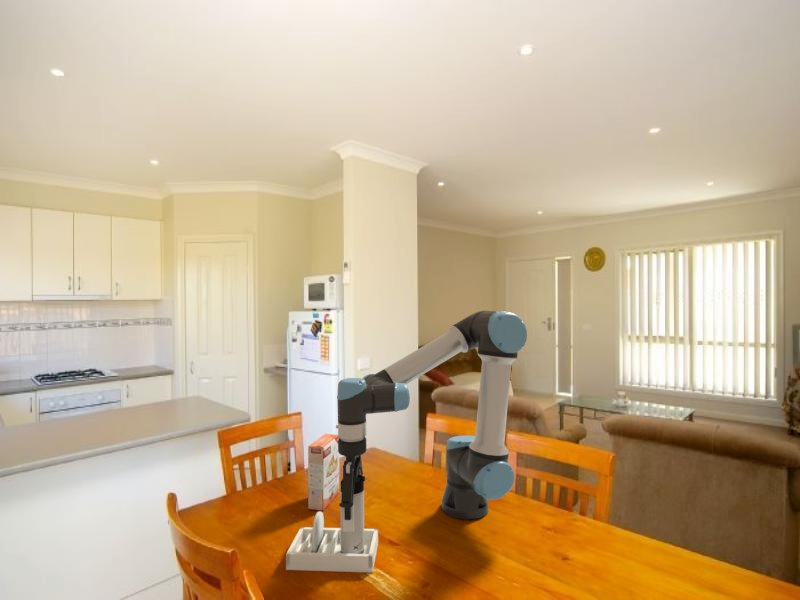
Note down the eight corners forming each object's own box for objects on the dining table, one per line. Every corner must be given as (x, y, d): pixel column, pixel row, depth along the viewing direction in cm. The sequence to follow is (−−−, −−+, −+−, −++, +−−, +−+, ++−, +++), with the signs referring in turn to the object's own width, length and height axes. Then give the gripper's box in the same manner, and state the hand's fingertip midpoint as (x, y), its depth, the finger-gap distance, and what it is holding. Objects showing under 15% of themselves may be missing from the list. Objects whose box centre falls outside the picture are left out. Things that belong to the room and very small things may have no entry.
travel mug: (361, 560, 112) (361, 483, 112) (337, 557, 113) (336, 480, 113) (368, 546, 118) (367, 473, 118) (345, 544, 119) (344, 471, 119)
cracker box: (324, 512, 140) (324, 447, 140) (307, 509, 141) (306, 445, 141) (340, 493, 154) (340, 433, 154) (324, 491, 155) (324, 432, 155)
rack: (378, 543, 122) (377, 503, 122) (372, 572, 109) (372, 527, 109) (301, 541, 123) (300, 501, 123) (286, 569, 110) (285, 525, 110)
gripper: (346, 423, 128) (347, 495, 128) (327, 454, 103) (328, 543, 103) (372, 423, 128) (372, 495, 128) (358, 454, 103) (360, 543, 103)
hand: (353, 517), depth 116 cm, fingers open, 13 cm apart
